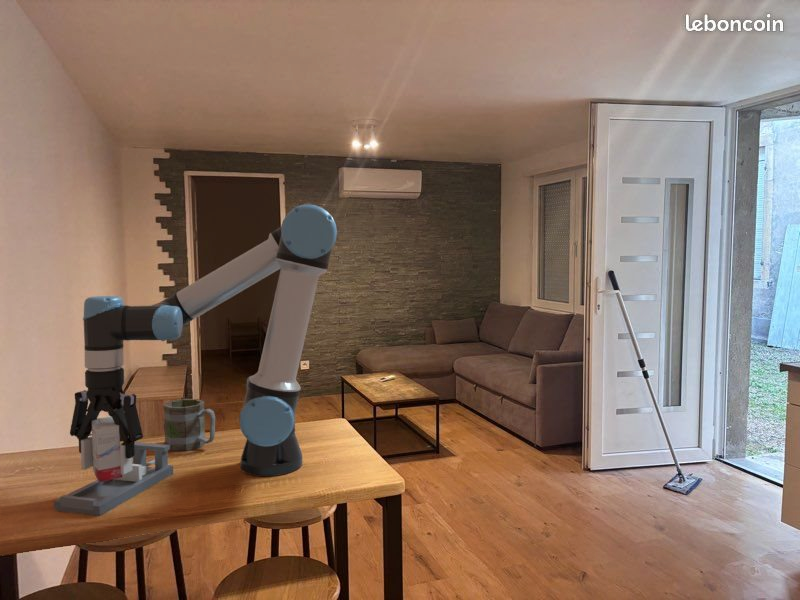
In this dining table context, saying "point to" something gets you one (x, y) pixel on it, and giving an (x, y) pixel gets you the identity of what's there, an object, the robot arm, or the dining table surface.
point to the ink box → (106, 449)
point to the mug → (186, 425)
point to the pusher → (136, 472)
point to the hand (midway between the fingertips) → (106, 469)
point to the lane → (117, 485)
